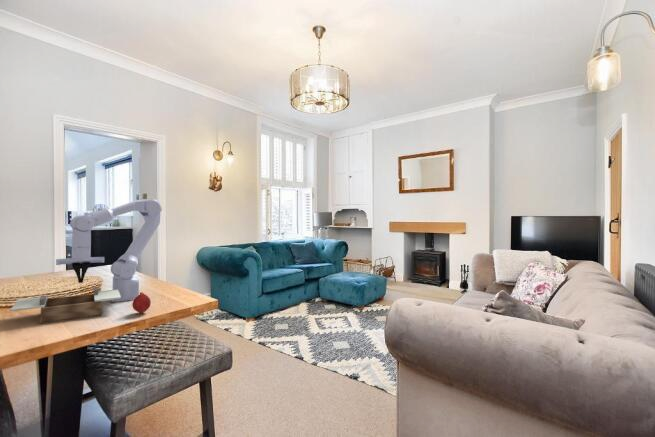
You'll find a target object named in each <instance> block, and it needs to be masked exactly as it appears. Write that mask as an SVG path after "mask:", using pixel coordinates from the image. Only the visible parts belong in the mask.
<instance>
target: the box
mask: <svg viewBox="0 0 655 437" xmlns="http://www.w3.org/2000/svg"><path fill="white" fill-rule="evenodd" d="M99 316H100V317H101V316H102V301H97V302H95V300H94V293H89V294H79V295H70V296H69V295H68V296H59V297H52V298H51V297H50V298H49V297H48V299H47V301H46V304H45V306H44V308H40V324H48V323H49V324H50V323H56V322H62V321H63V322H65V321H70V320H71V321H72V320H76V319H77V320H78V319H85V318H93V317H99Z"/></svg>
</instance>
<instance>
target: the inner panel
mask: <svg viewBox="0 0 655 437" xmlns="http://www.w3.org/2000/svg"><path fill="white" fill-rule="evenodd" d="M93 294H94V300H95V302H97V301H101V302H102V301H103V302H104V301H111V300H114V299H121V296H120V293H119V290H118V289H117V290H112V289H108V290H100V291H99V287H98V286H94V287H93Z"/></svg>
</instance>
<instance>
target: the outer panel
mask: <svg viewBox="0 0 655 437" xmlns="http://www.w3.org/2000/svg"><path fill="white" fill-rule="evenodd" d="M48 298H49V297H48V296H46V295H41V296H36V297H28V298H19V299H16V301H15V302H14V304H13V305H12V307H11V308H10V312H16V311H18V312H19V311H25V310H35V309H41V308H44V306H45V304H46V301H47V299H48Z"/></svg>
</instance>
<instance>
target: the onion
mask: <svg viewBox="0 0 655 437" xmlns="http://www.w3.org/2000/svg"><path fill="white" fill-rule="evenodd" d="M151 304H152V302H151V298H150V297H149V296H148V295H147V294H145V293H144V292H143V291H139V295H138V296H137V297H136V298H135V299H134V300H132V304H131V306H132V309H133V310H134V311H136V312H137V313H138V314H141V315H142V314H145V312H147V311H148V310H149V308H150V307H151Z"/></svg>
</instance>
